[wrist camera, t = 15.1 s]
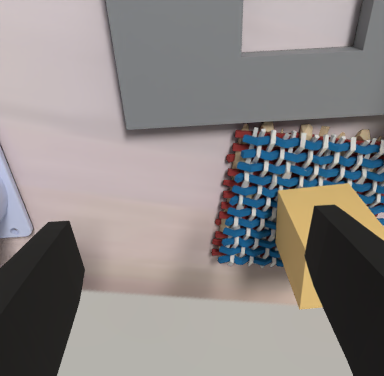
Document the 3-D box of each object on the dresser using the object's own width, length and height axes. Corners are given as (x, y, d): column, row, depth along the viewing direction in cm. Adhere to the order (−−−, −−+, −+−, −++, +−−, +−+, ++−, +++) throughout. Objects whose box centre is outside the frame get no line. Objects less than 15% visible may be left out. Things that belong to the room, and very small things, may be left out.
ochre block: (275, 242, 21) (299, 309, 17) (278, 190, 19) (306, 252, 15) (338, 236, 21) (378, 301, 17) (348, 183, 19) (396, 243, 15)
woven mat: (231, 111, 19) (237, 126, 17) (411, 127, 20) (433, 143, 18) (206, 249, 24) (208, 271, 23) (346, 256, 25) (358, 277, 24)
